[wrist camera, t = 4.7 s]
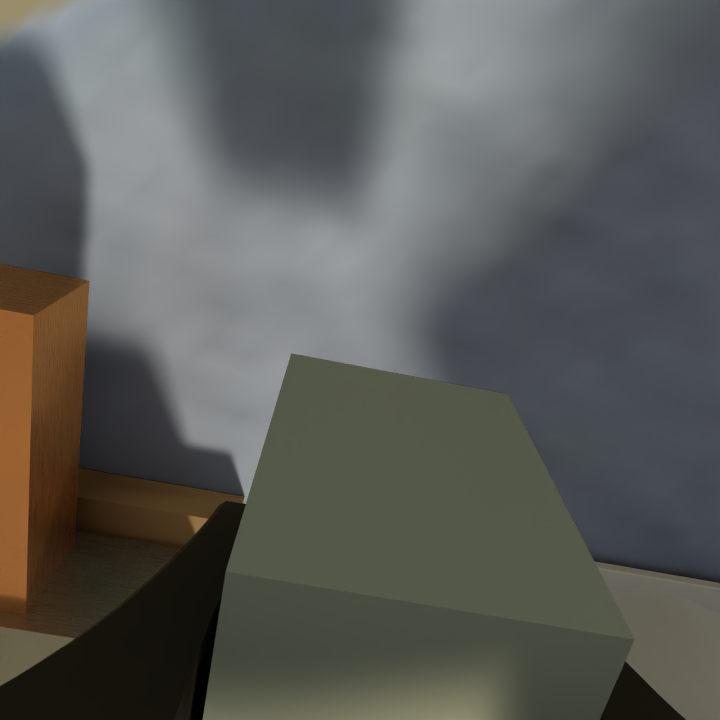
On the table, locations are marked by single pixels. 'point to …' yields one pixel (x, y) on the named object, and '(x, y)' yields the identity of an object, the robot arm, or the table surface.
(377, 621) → the block
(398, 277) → the table surface
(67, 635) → the clamp jaw
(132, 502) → the press
